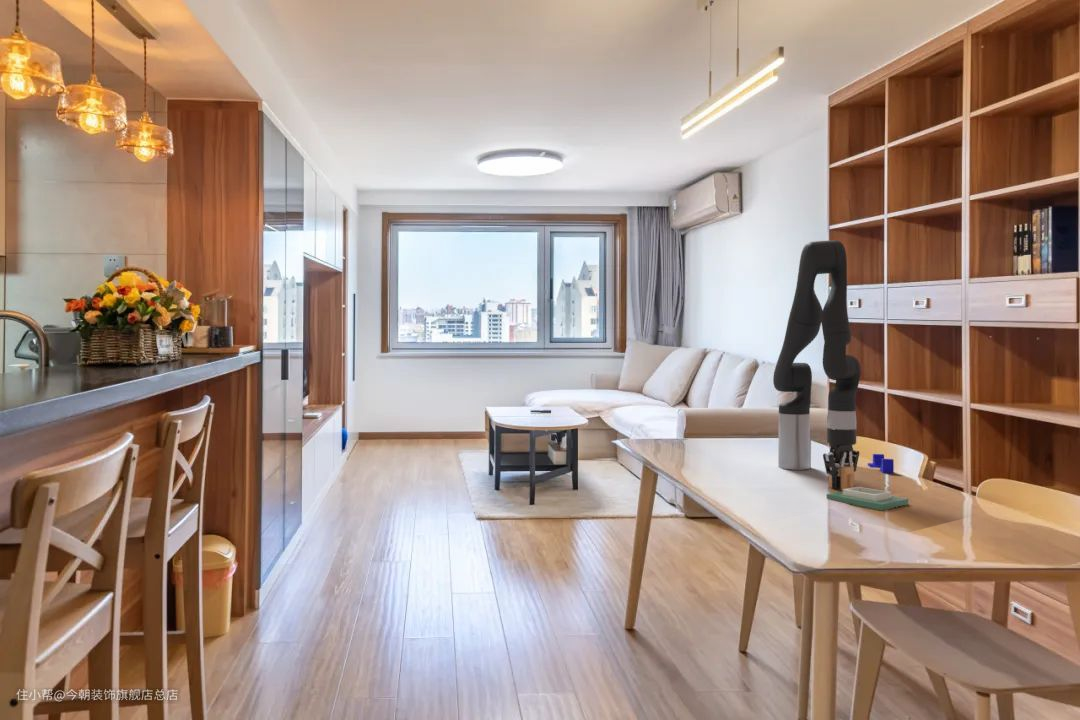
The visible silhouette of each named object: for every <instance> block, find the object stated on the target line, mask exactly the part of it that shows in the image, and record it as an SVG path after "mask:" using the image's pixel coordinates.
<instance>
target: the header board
mask: <svg viewBox="0 0 1080 720" xmlns="http://www.w3.org/2000/svg"><path fill="white" fill-rule="evenodd" d="M826 499H828V500H831V501H836V502H840V503H844V504H848V505H850V504H852V506H855V505H857V506H856V507H860V506H861V508H866V509H872V510H877V511H885V510H891V508H892V509H895V508H894V507H896V508H899V507H898V506H901V507H903V506H902V505H905V504H908V505H909V498H905V497H901V496H900V497H899V496H893V495H892V491H887V490H881V489H876V488H869V487H864V486H854V487H853V488H847V489H843V490H841V491H837V492H831V493H827V494H826ZM905 506H906V505H905Z"/></svg>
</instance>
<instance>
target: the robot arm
mask: <svg viewBox="0 0 1080 720" xmlns="http://www.w3.org/2000/svg"><path fill="white" fill-rule="evenodd" d="M847 257H848V256H847V253H846V248H845V246H844V244H843V242H841V241H840V240H838V239H837V240H836V239H835V240H834V239H833V240H832V239H829V240H816V241H810V242H807V243H806V244H805V245H804V246H803V248H802V250H801V254H800V259H799V264H798V265H799V266H798V273H797V279H796V280H797V281H796V287H795V291H794V292H795V293H794V296H793V301H792V305H791V309H790V311H789V316H788V321H787V325H786V329H785V335H784V338H783V339H784V340H783V344H782V346H781V350H780V353H779V356H778V358H777V361H776V365H775V369H774V371H773V378H772V379H773V386H774V389H775V390H776V391H778V392H783V393H796V394H795V396H794V397H793V398H791V399H790V400H787V401H784V402H782V403H779V405H778V451H777V452H778V461H777V462H778V465H777V466H778V468H780V469H786V470H793V471H795V470H796V471H798V470H799V471H803V470H809V469H811V467H812V438H811V437H810V431H811V430H810V429H811V427H810V425H811V424H810V421H811V420H810V412H811V411H810V408H811V402H812V401H811V400H812V399H811V398H812V383H813V379H812V378H813V373H812V372H813V371H812V368H811V366H810V365H809V364H808V363H806V362H795V360H796V358H797V357H798V355H800V354H801V352H802V351H804V350H805V348H807V347H808V346H809V345H810V344H811V343H812V342H813V341H814V340H815V338H817V336H818V334H819V332H820V329H821V328H822V334H823V341H824V343H823V344H824V345H823V352H822V354H823V355H822V368H823V371H824V374H825V375H826V376H827V378H828V379H830V380H832V381H835V383H834V384H835V385H834V387H833V388H832V389H831V390H830V391H829V393H828V398H827V400H828V401H827V408H828V409H827V417H826V442H827V443H828V444H829V445H830V448H829V452H828V453H823V455H822V457H823V463H824V467H825V468H824V469H825V472H826V474H827V475H829V474H830V475H832V488H831V489H833V490H837V491H841V490H840V489H841V477H840V475H841V468H843V467H844V465H845V466H854V473H855V472H856V471H857V466H858V461H859V457H860V451H859V450H854V448H853V446H855V445H856V444H857V413H856V410H857V409H856V408H857V407H856V405H857V404H856V396H857V391H858V388H859V383H860V380H861V373H862V370H861V365H860V362H859V360H858V358H857V357H856V356H854V355H851V354H847V346H848V345H849V344H850V343H851V342H852V333H851V328H850V327H851V326H850V321H849V314H848V301H847V300H848V297H847V296H848V294H847V293H848V260H847V259H848V258H847ZM824 274H830V281H831V283H830V284H831V286H830V291H829V295H828V296H827V300H826V301H825V304H824V307H822V305H821V303H820V300H819V298H818V297H817V295H816V292H815V283H816V281H815V280H816V278H817V276H818V275H824ZM836 464H839V465H836ZM830 467H831V470H830ZM836 467H837V471H836Z"/></svg>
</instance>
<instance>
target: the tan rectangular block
mask: <svg viewBox="0 0 1080 720" xmlns="http://www.w3.org/2000/svg"><path fill="white" fill-rule="evenodd" d="M835 464H836V463H835ZM836 465H839V464H836ZM830 470H831V467H830ZM836 471H837V467H836ZM840 477H841V489H840V490H839V491H843V489H847V488H853V487H855V472H854V466H845V465H844V467H843V468H841V475H840ZM828 488H830V489H832V475H830V474H828Z"/></svg>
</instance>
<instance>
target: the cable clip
mask: <svg viewBox="0 0 1080 720" xmlns="http://www.w3.org/2000/svg"><path fill="white" fill-rule="evenodd" d="M867 466H868V467H869V468H872V469H879V471H880V472H881V473H883V474H890V473H892V474H894V469H895V468H894V466H895V465H894V459H893V458H885V455H884V453H872V462H867Z"/></svg>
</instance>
